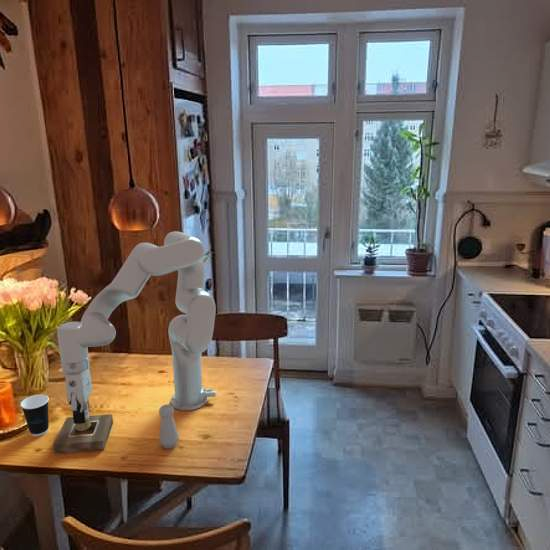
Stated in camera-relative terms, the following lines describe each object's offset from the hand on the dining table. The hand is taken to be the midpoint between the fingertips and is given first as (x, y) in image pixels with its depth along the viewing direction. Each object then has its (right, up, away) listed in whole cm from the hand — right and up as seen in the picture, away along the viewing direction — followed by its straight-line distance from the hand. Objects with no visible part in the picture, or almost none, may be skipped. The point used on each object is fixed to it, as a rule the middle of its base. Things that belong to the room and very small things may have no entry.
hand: (82, 417), depth 145 cm
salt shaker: (+27, -8, -1) cm, 28 cm away
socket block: (0, -7, +2) cm, 7 cm away
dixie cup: (-15, -6, +5) cm, 17 cm away
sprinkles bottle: (0, -3, +1) cm, 4 cm away
